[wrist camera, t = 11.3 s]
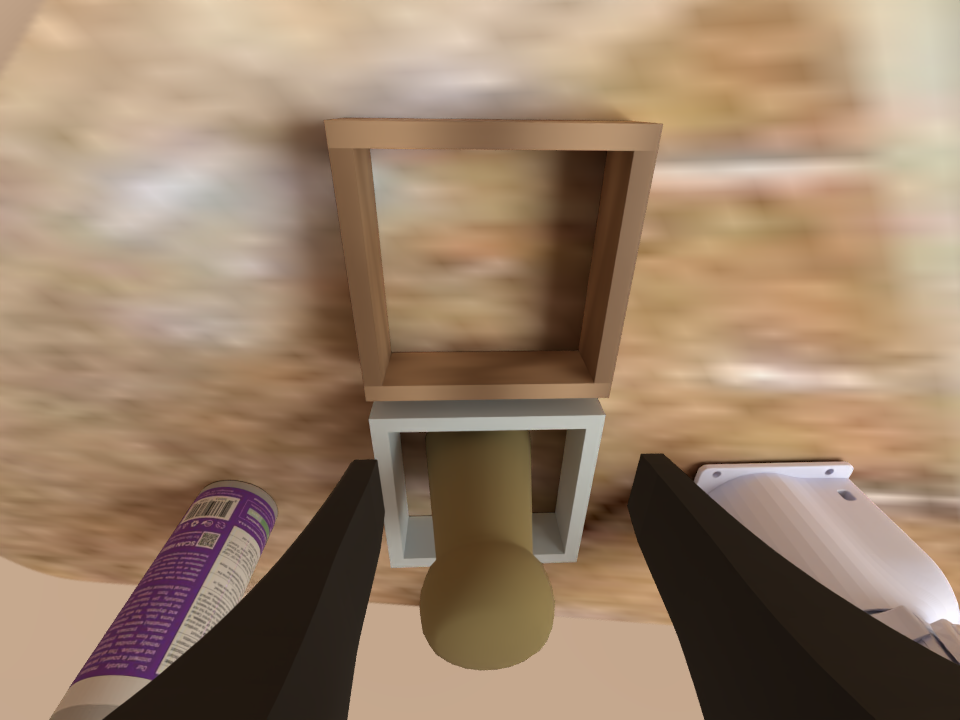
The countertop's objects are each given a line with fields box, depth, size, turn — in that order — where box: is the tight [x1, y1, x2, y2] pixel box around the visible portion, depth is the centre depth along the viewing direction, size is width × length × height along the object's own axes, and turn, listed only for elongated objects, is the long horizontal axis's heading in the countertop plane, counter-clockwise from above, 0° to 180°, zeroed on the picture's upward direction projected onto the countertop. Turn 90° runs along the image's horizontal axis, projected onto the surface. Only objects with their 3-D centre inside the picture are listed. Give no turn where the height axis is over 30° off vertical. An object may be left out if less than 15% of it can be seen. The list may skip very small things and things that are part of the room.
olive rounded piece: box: [420, 430, 555, 670], centre depth 20 cm, size 6×6×11 cm
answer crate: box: [369, 398, 606, 568], centre depth 24 cm, size 11×11×3 cm
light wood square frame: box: [324, 118, 663, 401], centre depth 18 cm, size 11×11×3 cm
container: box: [50, 480, 278, 720], centre depth 20 cm, size 5×5×15 cm
